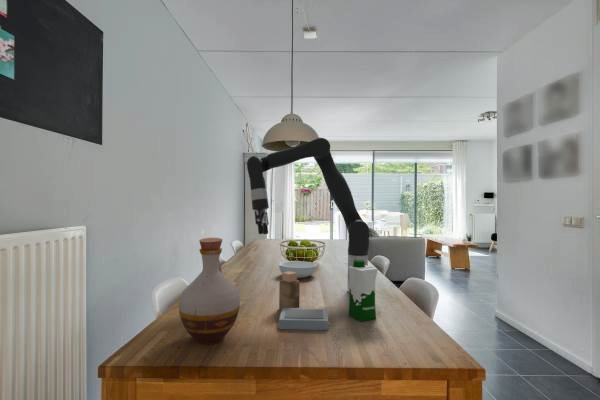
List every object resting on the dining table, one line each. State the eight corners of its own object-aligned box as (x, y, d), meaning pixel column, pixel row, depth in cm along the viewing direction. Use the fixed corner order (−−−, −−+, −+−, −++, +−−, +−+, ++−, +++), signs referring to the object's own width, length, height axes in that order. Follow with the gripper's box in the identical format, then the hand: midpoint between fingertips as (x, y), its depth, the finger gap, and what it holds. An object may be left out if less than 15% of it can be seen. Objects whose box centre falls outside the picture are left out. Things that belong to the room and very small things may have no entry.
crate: (289, 305, 130) (290, 278, 131) (299, 309, 126) (299, 280, 127) (279, 308, 127) (279, 280, 127) (288, 312, 123) (288, 283, 123)
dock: (326, 317, 118) (326, 308, 118) (328, 330, 106) (328, 320, 106) (282, 316, 119) (282, 307, 119) (278, 328, 107) (279, 319, 107)
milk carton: (364, 311, 125) (364, 258, 125) (380, 319, 117) (380, 262, 117) (345, 314, 121) (345, 260, 121) (360, 323, 113) (361, 264, 113)
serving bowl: (317, 281, 172) (317, 268, 172) (277, 280, 172) (277, 267, 172) (315, 272, 193) (316, 260, 193) (280, 272, 193) (280, 260, 193)
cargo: (290, 278, 129) (290, 271, 129) (296, 280, 127) (296, 272, 127) (282, 280, 127) (282, 272, 127) (289, 282, 124) (289, 274, 124)
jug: (193, 324, 109) (194, 234, 110) (246, 325, 109) (247, 235, 109) (167, 351, 90) (168, 242, 90) (232, 353, 89) (233, 243, 89)
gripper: (263, 196, 145) (267, 232, 143) (270, 199, 159) (275, 233, 157) (247, 198, 146) (251, 235, 144) (256, 202, 160) (259, 235, 158)
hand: (263, 234), depth 150 cm, fingers open, 8 cm apart
